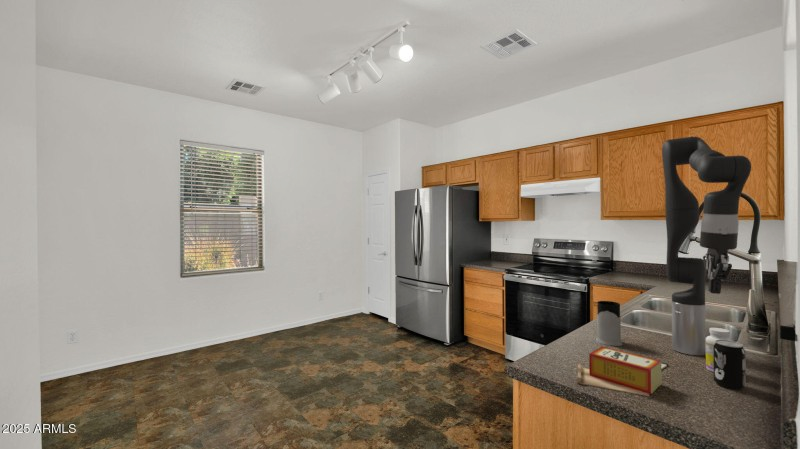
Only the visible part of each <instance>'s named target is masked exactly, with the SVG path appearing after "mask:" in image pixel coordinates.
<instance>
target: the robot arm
mask: <svg viewBox="0 0 800 449" xmlns="http://www.w3.org/2000/svg"><path fill="white" fill-rule="evenodd" d="M661 158H662V167H663V175H664V176H663V177H664V185H665V187H664V189H665V190H664V193H665V194H664V198H665V201H664V202H665V207H664V208H665V225H666V262H665V264H666V277H667V280H668V281H670V282H671V283H677V284H678V283H679V284H688V285H692V287H691V288H689V289H686V290H681V291H676V292H673V293H672V295H671V347H672V348H671V349H672V350H674V351H676V352H678V353H682V354H685V355H689V356H690V355H692V356H704V355H705V356H706V340H705V339H706V337H707V336H706V277H707V279H708V292H709V293H711V294H715V295H716V294H718V295H719V294H721V293H722V292H721V290H722V282H723V281H726V280H727V278H728V276H729V274H730V272H731V270H732V269H733V264H732V263H729V262H730V256H729V252H728V251H729V250H730V251H731V250H735V249H737V248H738V236H739V206H740V205H739V204H740V199H741V196H742V192H743V189H744V187H745V185H746V183H747V181H748V179H749V176H750V175H751V172H752V163H751V161H750V159H749V158H748V157H747V156H744V155H725V154H724V153H722V152H719V151H718V150H714V149H712V148H711V147H710V146H709V144H707V143H706V141H705V140H704V139H702V138H701V137H699V136H687V137H686V136H685V137H679V138H671V139H667V140H665V141H664V142H663V144H662V148H661ZM684 165H689V166H690V167H691V169H692V170H693V171H695V172H697V176H698V179H699V181H701V182H703V183H708V184H718V183H719V184H721V183H724V184H725V183H727V185H726V186H725V188H723V189H722V190H721V189H720V190H717V191H711V192H708V193H706V194H705V195H704V197H703V211H702V218H701V221H700V204H699V200H698V199H697V197H696V196H695V195H694V193H693V192H692V191H691V190H690V189H689V188H688V187H687V186H686V185H685V183H684V182H683V181H682V179H681V177H680V176H679V172H678V170H677V166H684ZM699 221H700V223H701V224H700V235H699V236H700V238H699V246H700V247H701V248H703V249H704V248H705V249H707V251H706V253H705V254H704V255H703V256H702V258H699V257H684V256H683V257H681V256H679V253H680V252H679V251H680V249H681V247H682V245H683V243H684V242H685V241H686V240H687V238H688V237H689V235H690V234H691V233H692V232H693V231H694V230H695V228H696V227H697V226H698V223H699Z"/></svg>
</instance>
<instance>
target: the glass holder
mask: <svg viewBox="0 0 800 449" xmlns="http://www.w3.org/2000/svg"><path fill="white" fill-rule="evenodd" d="M596 306H597V313H596V333H597V334H596V339H595V341H596V342H597V343H599V344H601V343H602V344H601V345H605V344H606V345H605V346H611V345H612V347H618V346H622V345H623V343H622V339H621V338H622V337H621V336H622V335H621V334H622V332H621V331H622V330H621V328H622V327H621V324H622V322H621V321H622V320H621V318H622V317H621V316H622V315H621V304H620V303H619V302H617V301H610V300H598V301H597V305H596Z"/></svg>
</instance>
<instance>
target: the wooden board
mask: <svg viewBox="0 0 800 449" xmlns="http://www.w3.org/2000/svg"><path fill="white" fill-rule="evenodd" d="M577 384H578V385H583V386H589V387H593V388H594V387H595V388H599V389H605V390H611V391H617V392H622V393H629V394H634V395H641V396H645V397H650V394H648V393H645V392H642V391H639V390H635V389H632V388H629V387H626V386H622V385H619V384H616V383H613V382H610V381H606V380H603V379H600V378H597V377H594V376H590V375H589V368H585V367H582V365H581V362H577Z"/></svg>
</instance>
